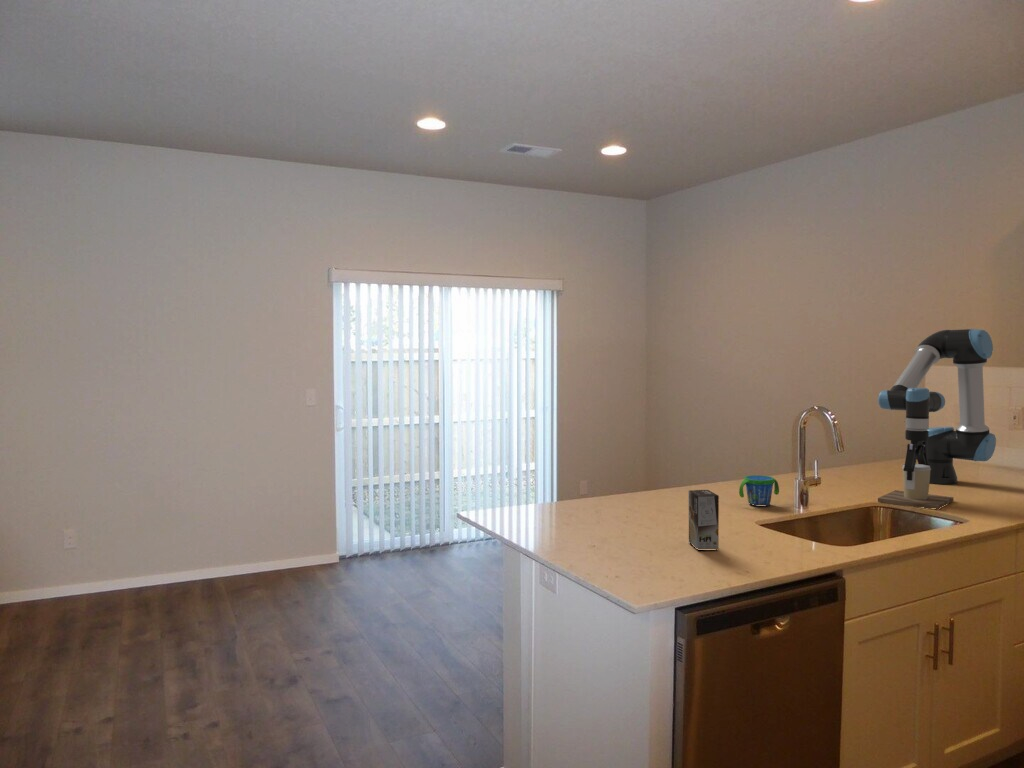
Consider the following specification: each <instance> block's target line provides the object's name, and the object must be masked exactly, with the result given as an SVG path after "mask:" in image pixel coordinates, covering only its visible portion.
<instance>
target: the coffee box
mask: <svg viewBox="0 0 1024 768" xmlns="http://www.w3.org/2000/svg"><path fill="white" fill-rule="evenodd" d="M719 499H720V496H719V495H718V494H716V493H715V492H713V491H711V490H709V489H694V490H693V489H691V490H688V543H689V542H690V543H691V544H693V545H694V546H695V547H696V548H698V549H718V550H719V540H720V539H719V535H720V534H719V533H720V532H719V528H720V527H719V522H720V521H719V520H720V519H719V518H720V517H719V515H720V514H719V513H720V512H719V510H720V509H719V508H720V506H719V505H720V504H719V502H720V500H719Z"/></svg>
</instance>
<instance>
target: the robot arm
mask: <svg viewBox="0 0 1024 768" xmlns="http://www.w3.org/2000/svg"><path fill="white" fill-rule="evenodd" d="M993 351H994V346H993V341H992V337H991V335H990V334H989V332H988V331H986V330H984V329H977V328H976V329H975V328H970V329H969V328H967V329H966V328H965V329H964V328H963V329H944V330H938V331H937V332H934V333H932V334H931V335H928V336H927V337H926V338H924V340H922V341H920V343H919V344H918V345H917V347H916V348H915V350H914V355H913V357H912V358H911V360H910V361H909V363H908V364H907V365H906V367H905V368H904V370H903V372H902V373H901V374H900V375H899V377H898V378H897V380H896V382H895V383H894V384H893V385H892V387H891V388H890V390H889V389H885V390H884V389H883V390H881V391H880V392H879V394H878V397H877V404H878V405H879V407H880V408H881V409H883V410H889V411H890V410H891V411H905V419H904V421H903V422H904V423H905V429H906V430H905V436H904V438H905V440H906V441H910V443H907V446H906V449H907V450H906V455H905V461H904V464H905V466H904V468H902V471H903V470H904V471H906V489H913V490H914V489H915V472H914V468H915V464H923V465H928V466H930V468H931V470H930V481H929V484H934V483H935V485H954V484H957V483H958V475H957V473H956V469H955V466H954V460H956V459H957V460H963V461H964V460H965V461H973V462H988V461H989V460H990V459H992V457H993V455H994V453H995V450H996V445H997V438H996V435H995V434H994V433H992V432H990V427H989V426H987V425H986V423H985V422H986V419H985V396H984V394H985V392H984V373H983V372H984V367H983V366H984V365H986V364H987V363H988V359H990V358H991V357H992V356H993ZM943 359H952V363H953V365H954V366H956V367H957V382H958V383H957V384H958V385H957V386H958V407H959V408H958V409H959V425H958V426H957V427H955V428H954V427H953V426H940V427H939V426H938V427H930V413H936V412H938V411H941V410H942V409H943V408H944V407H945V405H946V398H945V396H944V395H943V394H942V393H940V392H938V391H930V390H929V389H928V388H926V387H919V386H920V383H921V382H922V381H923V380H924V378H925V376H926V375H927V374H928V373H929V371H930V369H931V368H932V366H933V365H935V364H937V363H939V361H940V360H943Z"/></svg>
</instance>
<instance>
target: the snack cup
mask: <svg viewBox="0 0 1024 768" xmlns="http://www.w3.org/2000/svg"><path fill="white" fill-rule="evenodd" d="M744 486H745V488H746V496H747V497H746V498H747V501H748V502H747V503H748V504H749V503H750V504H754V505H769V504H770V505H771V501H772V496H773V494H772V493H774V495H776V496H777V495H779V493H780V487H779V486H780V485H779V482H778V480H776V479H775V478H774V476H769V475H762V474H761V475H759V474H755V475H754V474H753V475H746V476H745V477H744V478H743V480H742V481H741V483H740V486H739V490H738V493H739V497H740V498H744V497H745V494H744ZM773 490H774V491H773ZM750 504H749V505H750ZM770 505H769V506H770Z"/></svg>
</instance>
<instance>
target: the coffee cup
mask: <svg viewBox="0 0 1024 768" xmlns="http://www.w3.org/2000/svg"><path fill="white" fill-rule="evenodd" d="M904 466H905V463H904V464H903V465H902V467H901V468H902V483H903V491H904V497H905V498H909V499H917V500H924V499H928V494H929V490H930V489H929V488H930V483H929V481H930V470H931V468H930V466H928V465H923V464H918V463H916V464H915V468H914V472H915V489H914V490H913V489H906V471H904V470H903V468H904Z"/></svg>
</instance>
